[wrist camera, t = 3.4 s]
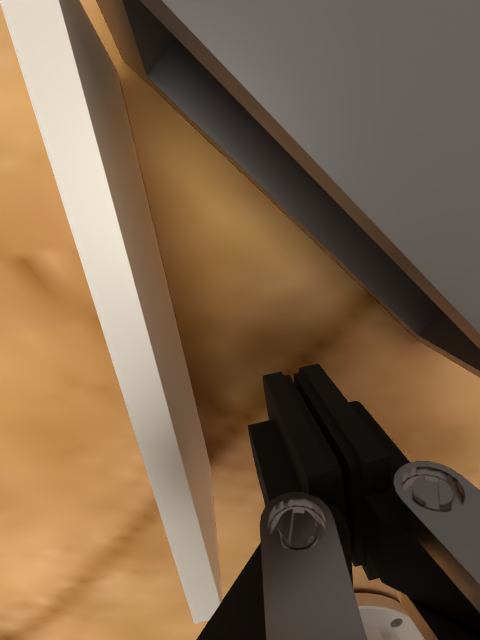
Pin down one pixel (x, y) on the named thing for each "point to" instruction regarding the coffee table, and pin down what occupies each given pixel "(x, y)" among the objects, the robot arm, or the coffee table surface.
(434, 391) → the coffee table surface
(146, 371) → the side door
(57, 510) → the coffee table surface
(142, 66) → the gray cabinet
